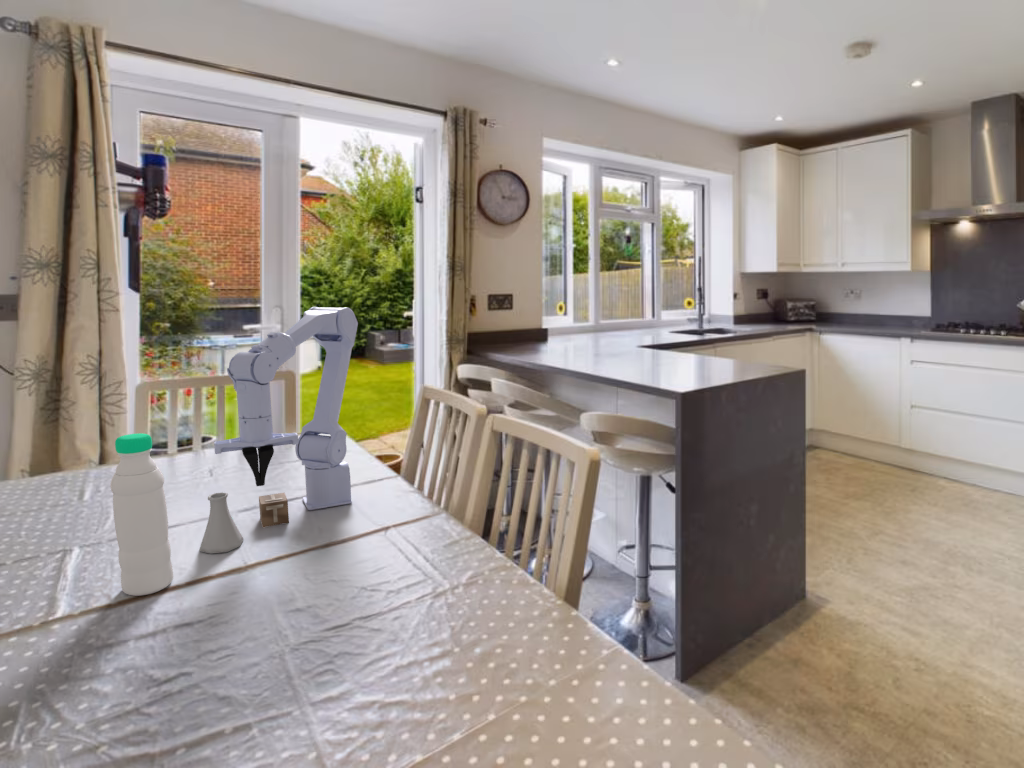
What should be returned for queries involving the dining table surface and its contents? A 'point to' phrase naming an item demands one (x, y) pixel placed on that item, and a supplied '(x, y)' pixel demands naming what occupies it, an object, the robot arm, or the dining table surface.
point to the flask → (220, 527)
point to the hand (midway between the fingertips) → (260, 484)
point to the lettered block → (273, 509)
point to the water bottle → (140, 518)
